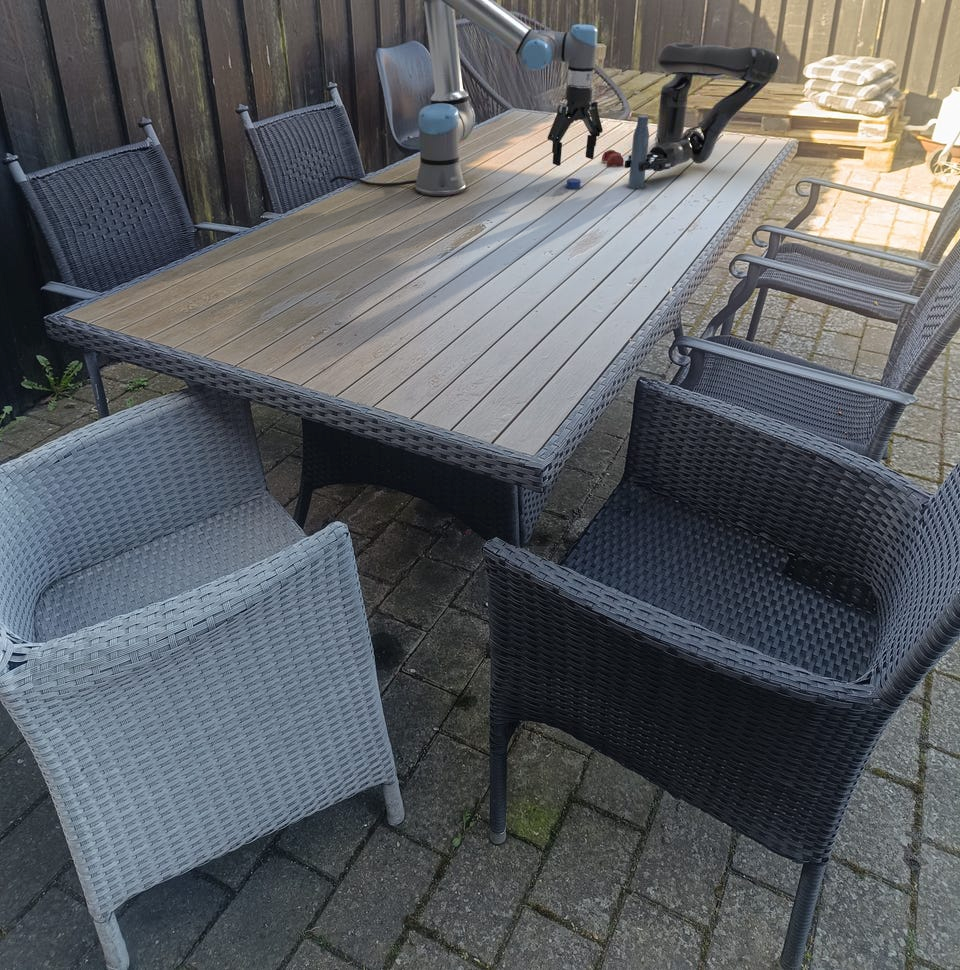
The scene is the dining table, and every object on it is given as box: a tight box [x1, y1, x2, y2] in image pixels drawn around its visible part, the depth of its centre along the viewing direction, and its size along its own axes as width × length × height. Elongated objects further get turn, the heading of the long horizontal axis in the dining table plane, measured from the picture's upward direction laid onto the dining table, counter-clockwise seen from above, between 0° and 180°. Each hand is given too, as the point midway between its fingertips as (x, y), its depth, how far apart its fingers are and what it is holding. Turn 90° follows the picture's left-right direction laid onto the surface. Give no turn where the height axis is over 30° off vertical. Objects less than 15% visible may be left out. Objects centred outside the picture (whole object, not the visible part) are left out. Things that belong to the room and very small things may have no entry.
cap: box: [566, 177, 582, 190], centre depth 260 cm, size 4×4×2 cm
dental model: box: [601, 149, 625, 167], centre depth 281 cm, size 6×4×8 cm
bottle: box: [627, 114, 650, 190], centre depth 255 cm, size 5×5×20 cm
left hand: (573, 161), depth 256 cm, fingers open, 13 cm apart
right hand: (632, 166), depth 256 cm, fingers closed on bottle, 4 cm apart
